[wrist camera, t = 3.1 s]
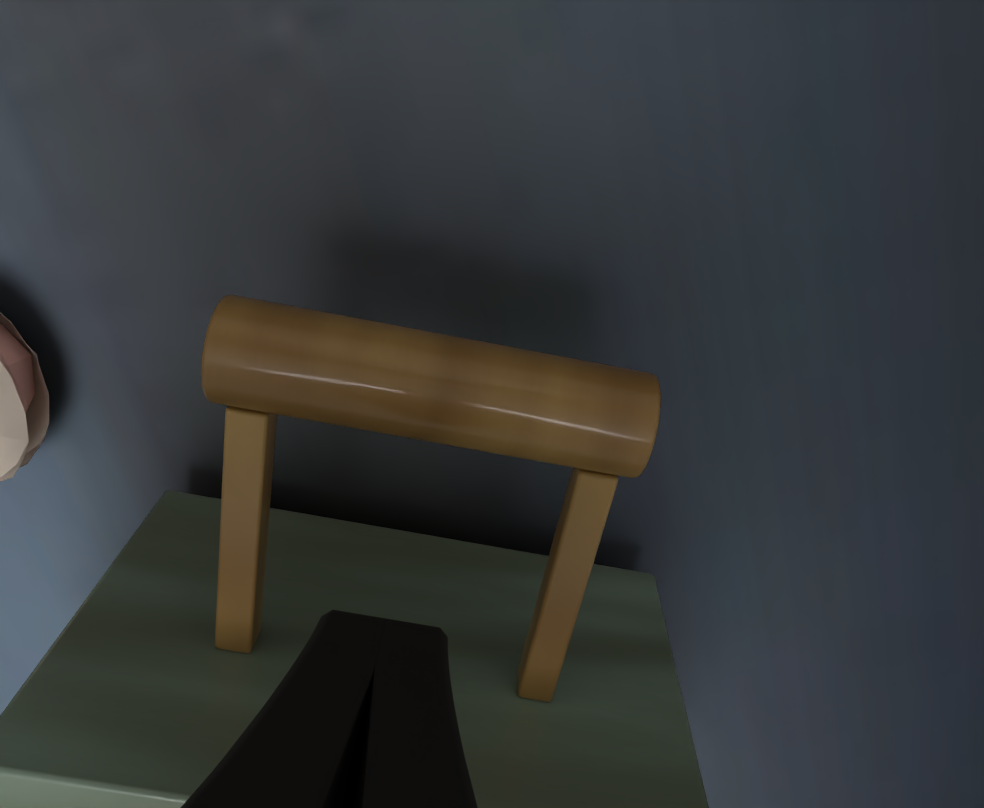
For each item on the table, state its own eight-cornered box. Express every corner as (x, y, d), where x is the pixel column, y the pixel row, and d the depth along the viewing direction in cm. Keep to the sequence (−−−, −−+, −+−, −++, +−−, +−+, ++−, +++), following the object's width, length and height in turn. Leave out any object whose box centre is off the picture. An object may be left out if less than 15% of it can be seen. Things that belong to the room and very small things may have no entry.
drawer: (167, 202, 14) (-104, 353, 8) (745, 313, 15) (906, 533, 8) (162, 867, 22) (25, 1195, 16) (533, 921, 23) (538, 1258, 17)
